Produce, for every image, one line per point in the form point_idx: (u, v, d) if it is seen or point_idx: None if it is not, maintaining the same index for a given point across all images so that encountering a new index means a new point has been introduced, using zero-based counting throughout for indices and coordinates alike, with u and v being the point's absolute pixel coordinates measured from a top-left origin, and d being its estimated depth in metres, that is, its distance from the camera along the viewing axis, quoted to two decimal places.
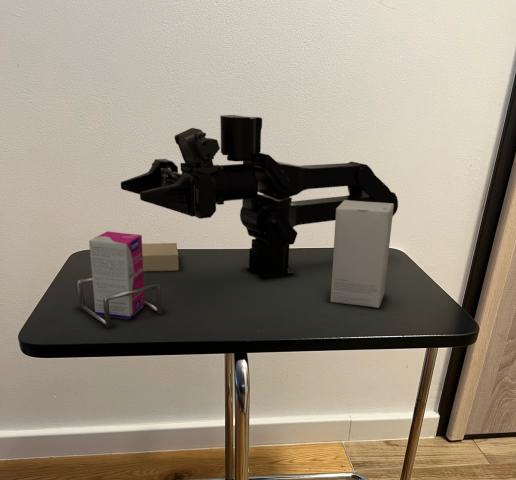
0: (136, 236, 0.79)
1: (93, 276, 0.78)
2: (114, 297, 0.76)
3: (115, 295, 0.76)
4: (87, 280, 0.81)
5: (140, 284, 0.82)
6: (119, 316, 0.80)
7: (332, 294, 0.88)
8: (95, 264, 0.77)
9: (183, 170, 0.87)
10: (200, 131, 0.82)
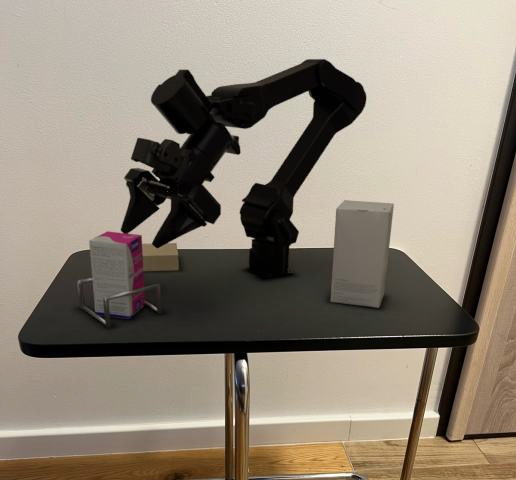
0: (136, 236, 0.79)
1: (93, 276, 0.78)
2: (114, 297, 0.76)
3: (115, 295, 0.76)
4: (87, 280, 0.81)
5: (140, 284, 0.82)
6: (119, 316, 0.80)
7: (332, 294, 0.88)
8: (95, 264, 0.77)
9: (159, 177, 0.81)
10: (151, 142, 0.74)
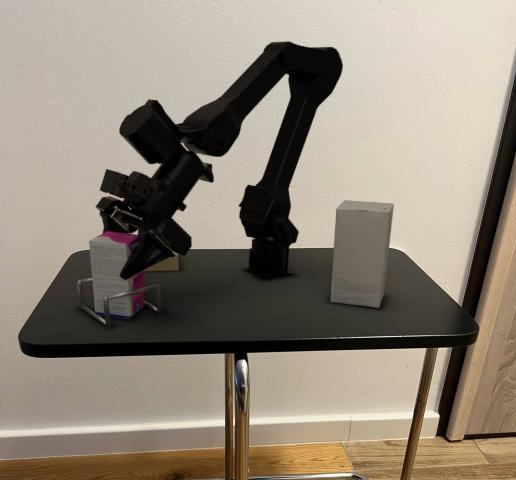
0: (136, 236, 0.79)
1: (93, 276, 0.78)
2: (114, 297, 0.76)
3: (115, 295, 0.76)
4: (87, 280, 0.81)
5: (140, 284, 0.82)
6: (119, 316, 0.80)
7: (332, 294, 0.88)
8: (95, 264, 0.77)
9: (130, 207, 0.79)
10: (119, 174, 0.73)
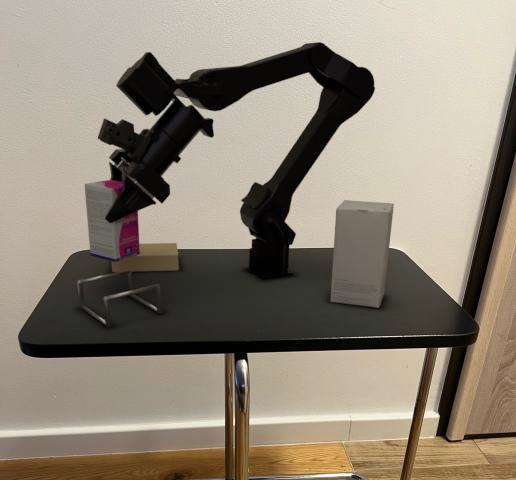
0: None
1: (88, 218, 0.84)
2: (114, 297, 0.76)
3: (115, 295, 0.76)
4: (87, 280, 0.81)
5: (133, 232, 0.86)
6: (107, 258, 0.85)
7: (332, 294, 0.88)
8: (89, 207, 0.83)
9: None
10: (108, 122, 0.78)
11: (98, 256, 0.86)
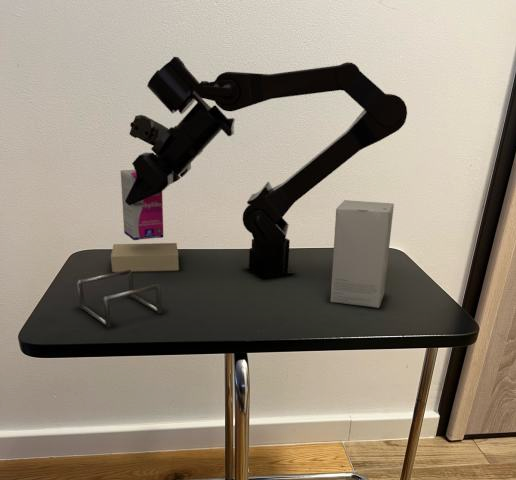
0: None
1: (122, 200, 0.98)
2: (114, 297, 0.76)
3: (115, 295, 0.76)
4: (87, 280, 0.81)
5: (156, 216, 0.97)
6: (130, 236, 0.98)
7: (332, 294, 0.88)
8: (122, 190, 0.97)
9: None
10: (135, 118, 0.90)
11: (127, 234, 1.00)
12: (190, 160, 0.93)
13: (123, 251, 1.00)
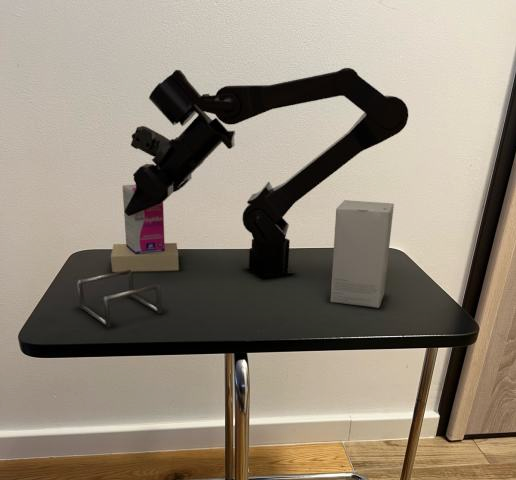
0: None
1: (124, 214, 1.00)
2: (114, 297, 0.76)
3: (115, 295, 0.76)
4: (87, 280, 0.81)
5: (157, 230, 0.98)
6: (132, 250, 0.99)
7: (332, 294, 0.88)
8: (124, 205, 0.98)
9: None
10: None
11: (129, 247, 1.01)
12: (190, 171, 0.93)
13: (123, 251, 1.00)
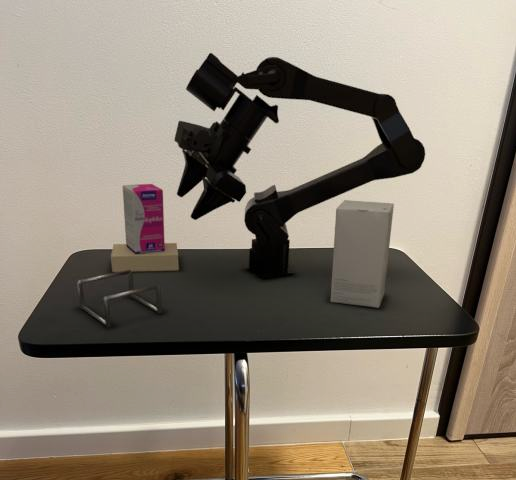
0: (156, 189, 0.96)
1: (124, 214, 1.00)
2: (114, 297, 0.76)
3: (115, 295, 0.76)
4: (87, 280, 0.81)
5: (157, 230, 0.98)
6: (132, 250, 0.99)
7: (332, 294, 0.88)
8: (124, 205, 0.98)
9: None
10: (185, 130, 0.85)
11: (129, 247, 1.01)
12: None
13: (123, 251, 1.00)
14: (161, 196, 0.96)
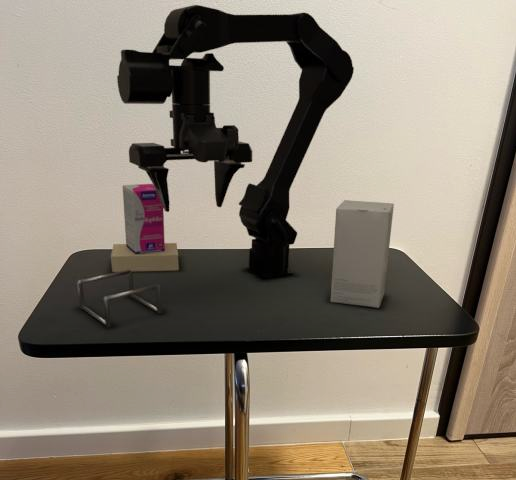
0: None
1: (124, 214, 1.00)
2: (114, 297, 0.76)
3: (115, 295, 0.76)
4: (87, 280, 0.81)
5: (157, 230, 0.98)
6: (132, 250, 0.99)
7: (332, 294, 0.88)
8: (124, 205, 0.98)
9: None
10: (227, 142, 0.78)
11: (129, 247, 1.01)
12: None
13: (123, 251, 1.00)
14: None
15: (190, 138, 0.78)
